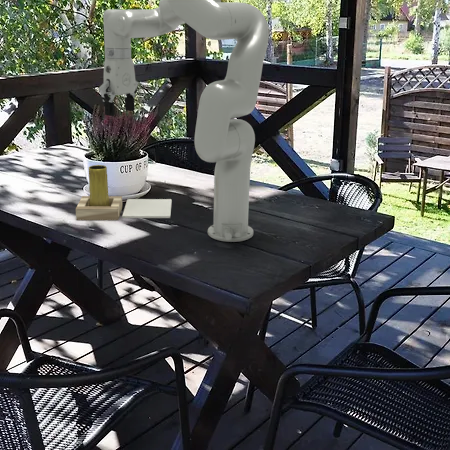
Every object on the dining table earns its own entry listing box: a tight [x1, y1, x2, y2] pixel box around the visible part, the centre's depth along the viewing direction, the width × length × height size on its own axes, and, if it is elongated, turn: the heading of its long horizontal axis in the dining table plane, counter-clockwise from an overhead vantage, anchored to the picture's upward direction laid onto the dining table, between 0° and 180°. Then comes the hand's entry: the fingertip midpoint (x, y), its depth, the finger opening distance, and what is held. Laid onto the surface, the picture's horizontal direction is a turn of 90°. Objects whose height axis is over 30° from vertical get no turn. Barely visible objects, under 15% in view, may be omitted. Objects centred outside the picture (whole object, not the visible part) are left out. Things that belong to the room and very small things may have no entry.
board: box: [121, 198, 173, 219], centre depth 184 cm, size 16×14×1 cm
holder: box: [75, 195, 123, 221], centre depth 179 cm, size 12×12×4 cm
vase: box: [88, 164, 110, 206], centre depth 177 cm, size 6×6×14 cm
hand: (120, 112), depth 181 cm, fingers open, 9 cm apart
